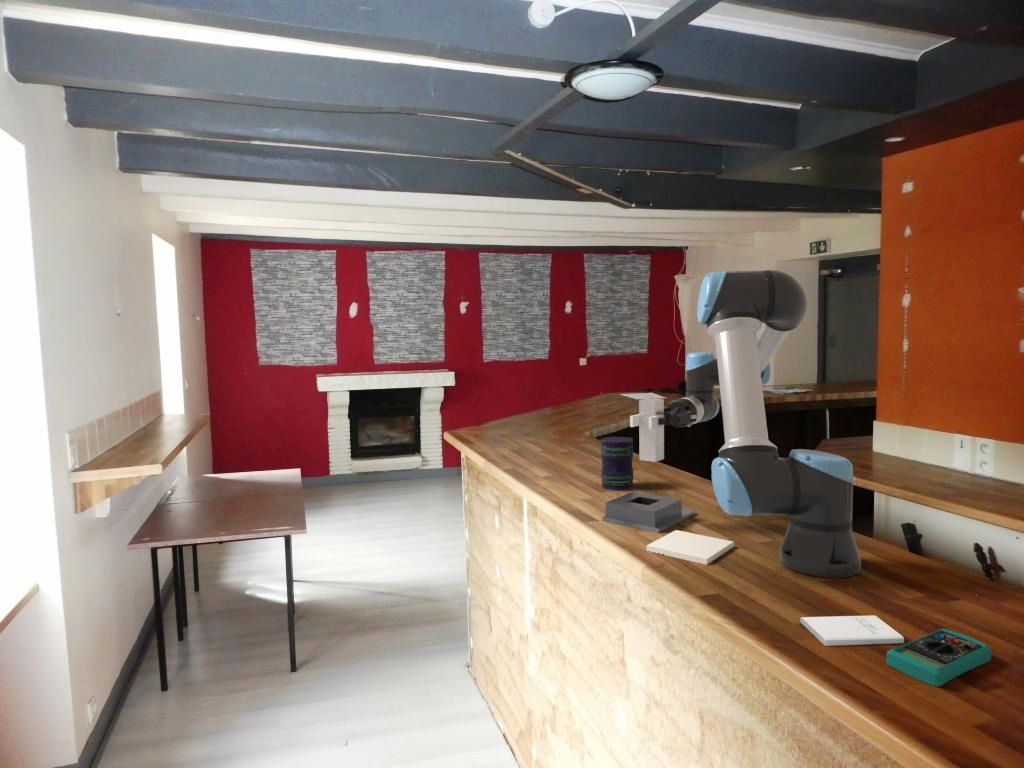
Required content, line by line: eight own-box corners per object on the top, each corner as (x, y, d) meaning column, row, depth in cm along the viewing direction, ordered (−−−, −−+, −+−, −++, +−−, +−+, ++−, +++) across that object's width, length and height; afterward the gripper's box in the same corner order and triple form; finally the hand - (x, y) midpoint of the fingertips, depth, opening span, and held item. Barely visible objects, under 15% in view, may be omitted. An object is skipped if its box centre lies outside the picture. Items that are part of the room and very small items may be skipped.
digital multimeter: (993, 662, 96) (994, 643, 96) (937, 691, 89) (938, 670, 88) (940, 642, 102) (941, 624, 102) (883, 667, 95) (884, 648, 95)
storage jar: (599, 490, 200) (599, 441, 198) (602, 482, 209) (602, 436, 208) (632, 491, 197) (632, 442, 196) (634, 483, 207) (634, 436, 205)
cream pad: (733, 546, 146) (733, 541, 146) (706, 564, 136) (706, 559, 136) (676, 534, 155) (676, 529, 155) (646, 550, 145) (646, 545, 145)
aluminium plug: (663, 459, 164) (663, 399, 162) (655, 461, 160) (655, 400, 159) (648, 457, 167) (647, 398, 165) (639, 459, 163) (639, 400, 162)
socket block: (695, 513, 172) (695, 495, 172) (658, 532, 157) (658, 512, 157) (641, 504, 183) (641, 486, 182) (602, 521, 168) (602, 501, 167)
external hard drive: (800, 625, 109) (873, 623, 109) (824, 649, 101) (904, 646, 101) (800, 616, 109) (874, 613, 109) (825, 639, 101) (904, 636, 101)
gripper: (715, 428, 171) (673, 440, 153) (654, 423, 182) (609, 434, 165) (715, 399, 170) (673, 409, 153) (654, 396, 182) (609, 404, 164)
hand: (640, 422), depth 159 cm, fingers closed on aluminium plug, 4 cm apart
